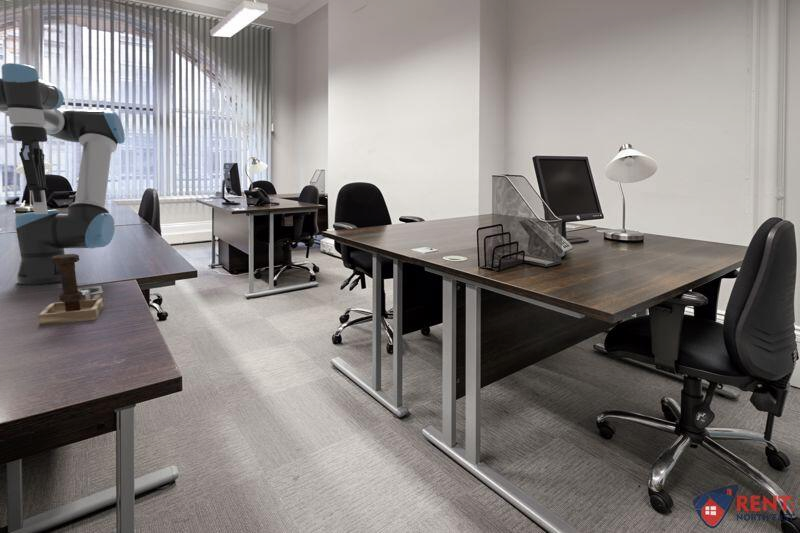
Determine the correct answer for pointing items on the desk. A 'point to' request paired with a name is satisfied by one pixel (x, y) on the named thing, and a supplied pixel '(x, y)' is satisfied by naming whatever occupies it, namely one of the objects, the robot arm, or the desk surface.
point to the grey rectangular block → (85, 294)
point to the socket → (72, 312)
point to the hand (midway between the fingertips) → (41, 213)
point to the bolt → (68, 281)
